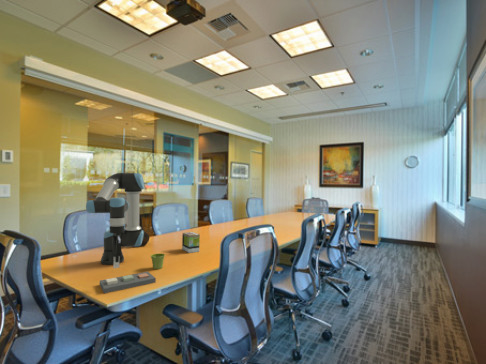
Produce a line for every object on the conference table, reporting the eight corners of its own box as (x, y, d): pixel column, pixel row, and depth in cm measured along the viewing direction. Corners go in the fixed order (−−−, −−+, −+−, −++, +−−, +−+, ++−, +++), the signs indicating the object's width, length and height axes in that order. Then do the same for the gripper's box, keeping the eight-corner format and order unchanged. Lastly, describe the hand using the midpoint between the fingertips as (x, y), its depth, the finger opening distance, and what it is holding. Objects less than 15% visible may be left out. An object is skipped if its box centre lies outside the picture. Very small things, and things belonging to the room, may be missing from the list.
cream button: (106, 283, 149) (106, 279, 149) (115, 281, 152) (115, 277, 152) (107, 286, 145) (107, 282, 145) (117, 284, 148) (117, 280, 148)
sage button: (122, 280, 155) (122, 276, 155) (131, 278, 158) (131, 274, 158) (124, 282, 151) (124, 278, 151) (133, 281, 154) (133, 277, 154)
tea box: (199, 251, 227) (200, 234, 227) (188, 253, 221) (188, 235, 221) (192, 247, 239) (192, 231, 239) (181, 249, 233) (182, 232, 233)
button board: (99, 285, 152) (99, 280, 152) (147, 275, 168) (148, 271, 168) (104, 293, 140) (104, 288, 140) (155, 282, 157) (155, 278, 157)
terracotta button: (137, 278, 160) (137, 274, 160) (146, 276, 163) (146, 273, 163) (140, 281, 156) (140, 277, 156) (148, 279, 159) (148, 275, 159)
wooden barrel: (144, 242, 258) (145, 213, 258) (152, 245, 245) (153, 215, 245) (125, 245, 245) (125, 214, 245) (133, 248, 232) (133, 216, 232)
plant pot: (155, 271, 176) (155, 258, 176) (147, 268, 182) (147, 255, 182) (167, 268, 183) (167, 255, 183) (160, 265, 189) (160, 252, 189)
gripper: (107, 224, 153) (106, 265, 153) (112, 227, 143) (111, 272, 143) (121, 223, 158) (120, 263, 158) (127, 226, 147) (126, 269, 147)
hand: (116, 267), depth 150 cm, fingers closed
